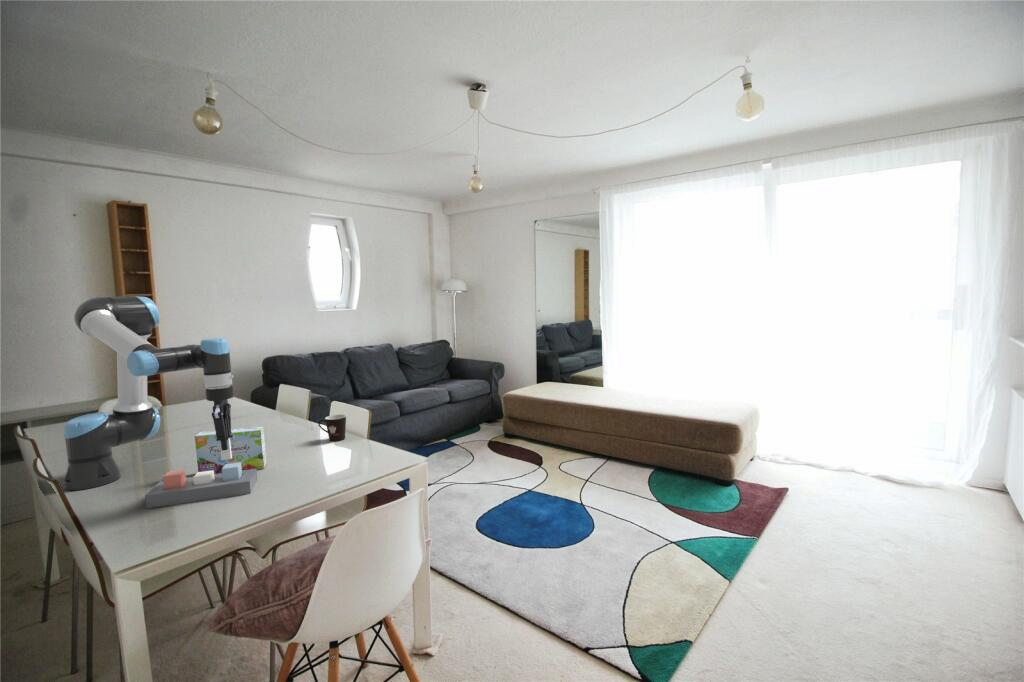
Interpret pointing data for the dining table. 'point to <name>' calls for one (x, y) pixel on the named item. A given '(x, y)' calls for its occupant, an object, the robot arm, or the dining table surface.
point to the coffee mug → (335, 427)
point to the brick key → (174, 479)
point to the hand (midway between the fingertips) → (226, 458)
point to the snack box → (232, 450)
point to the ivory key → (204, 477)
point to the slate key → (232, 471)
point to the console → (201, 490)
